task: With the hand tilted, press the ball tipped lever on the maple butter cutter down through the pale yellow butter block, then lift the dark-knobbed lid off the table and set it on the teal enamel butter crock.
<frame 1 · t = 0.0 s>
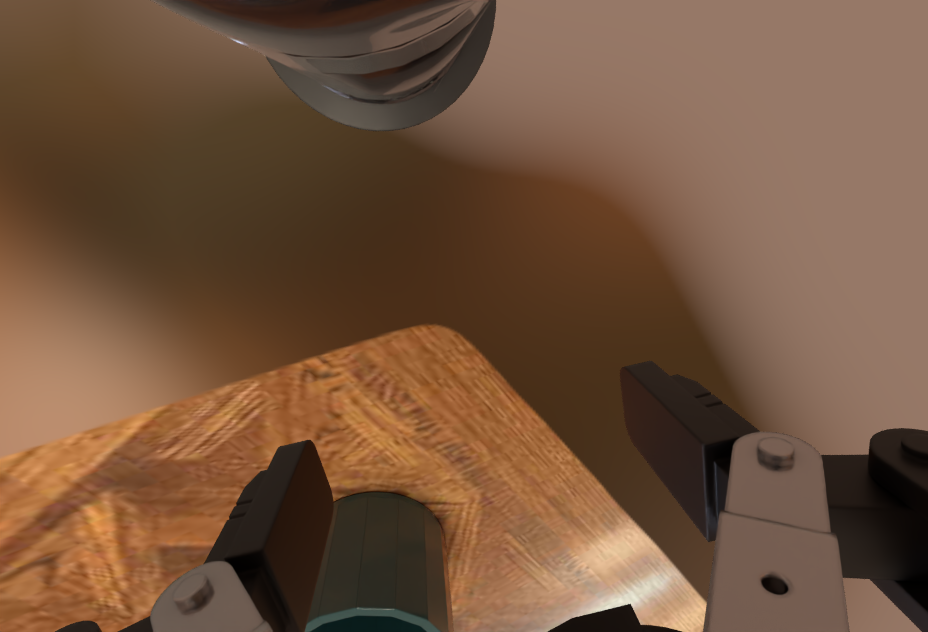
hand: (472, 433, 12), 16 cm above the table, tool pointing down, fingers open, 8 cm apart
crock: (374, 546, 34), on the table
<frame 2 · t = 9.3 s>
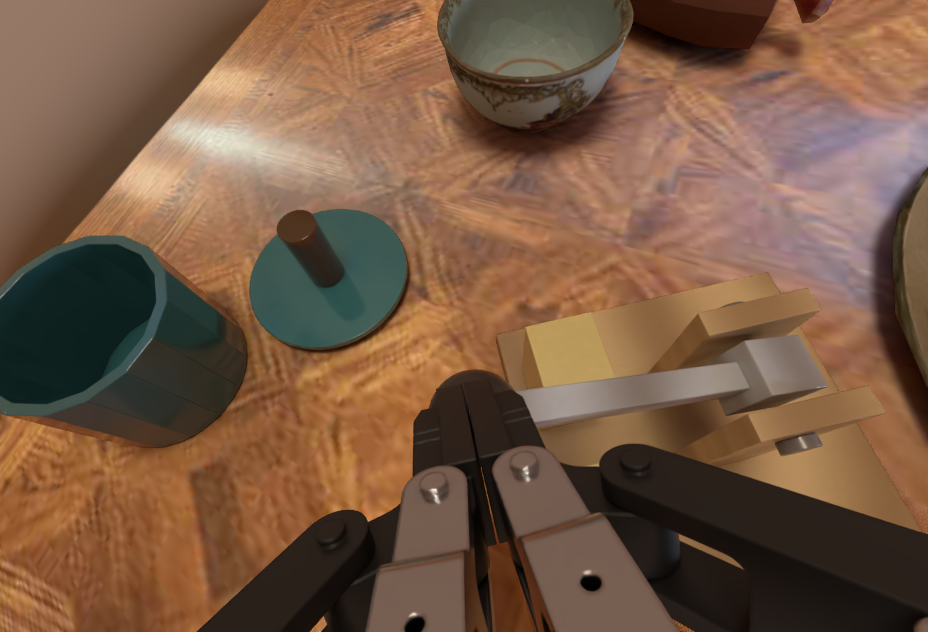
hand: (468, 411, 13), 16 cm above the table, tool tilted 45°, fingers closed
ball tipped lever: (633, 394, 17), point 12 cm above the table, hinge at 18.8°, touching gripper
butter: (557, 391, 28), point 1 cm above the table, touching cutter
crock: (173, 371, 32), on the table
meat: (683, 27, 43), on the table
cutter: (677, 429, 27), on the table
bowl: (528, 109, 40), on the table
crock lid: (329, 276, 33), point 1 cm above the table
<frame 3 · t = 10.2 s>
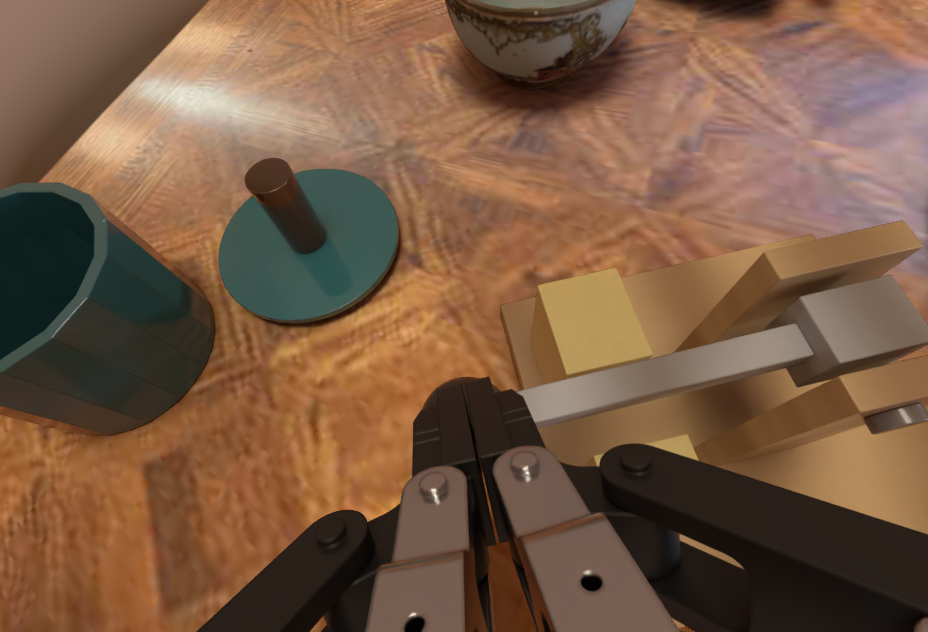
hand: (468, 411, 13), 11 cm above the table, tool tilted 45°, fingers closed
ball tipped lever: (651, 379, 15), point 10 cm above the table, hinge at -2.7°, touching gripper
butter: (572, 368, 24), point 1 cm above the table, touching cutter
crock: (129, 348, 28), on the table
butter pat: (615, 496, 21), point 1 cm above the table, touching cutter
cutter: (712, 412, 24), on the table
bowl: (534, 64, 36), on the table
crock lid: (310, 242, 29), point 1 cm above the table
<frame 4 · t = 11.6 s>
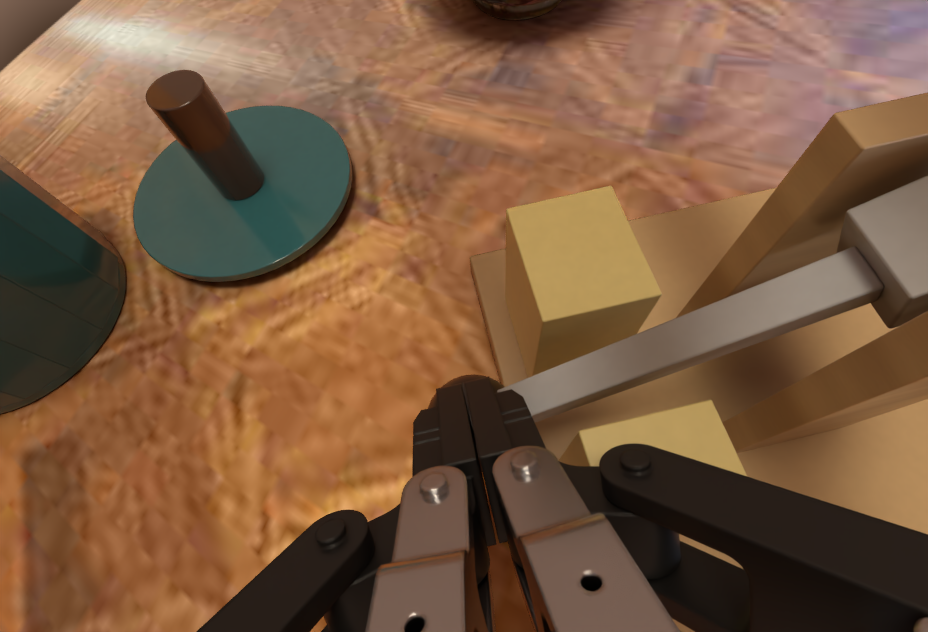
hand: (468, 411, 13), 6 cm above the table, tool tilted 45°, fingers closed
ball tipped lever: (659, 351, 12), point 7 cm above the table, hinge at -29.5°, touching gripper
butter: (557, 331, 19), point 1 cm above the table, touching cutter
crock: (21, 313, 23), on the table
butter pat: (611, 491, 16), point 1 cm above the table, touching cutter
cutter: (733, 386, 19), on the table
crock lid: (246, 189, 24), point 1 cm above the table
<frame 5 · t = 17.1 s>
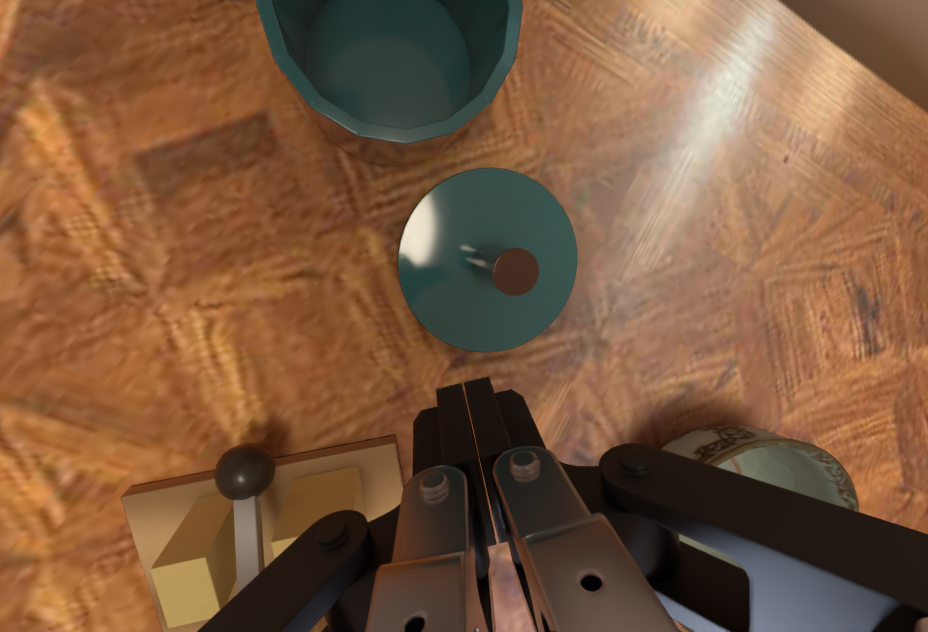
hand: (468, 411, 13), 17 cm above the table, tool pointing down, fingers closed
ball tipped lever: (252, 594, 24), point 7 cm above the table, hinge at -30.3°
butter: (330, 496, 29), point 1 cm above the table, touching cutter
crock: (390, 72, 26), on the table
butter pat: (225, 518, 28), point 1 cm above the table, touching cutter
cutter: (296, 581, 31), on the table
bowl: (676, 475, 35), on the table
crock lid: (488, 262, 29), point 1 cm above the table
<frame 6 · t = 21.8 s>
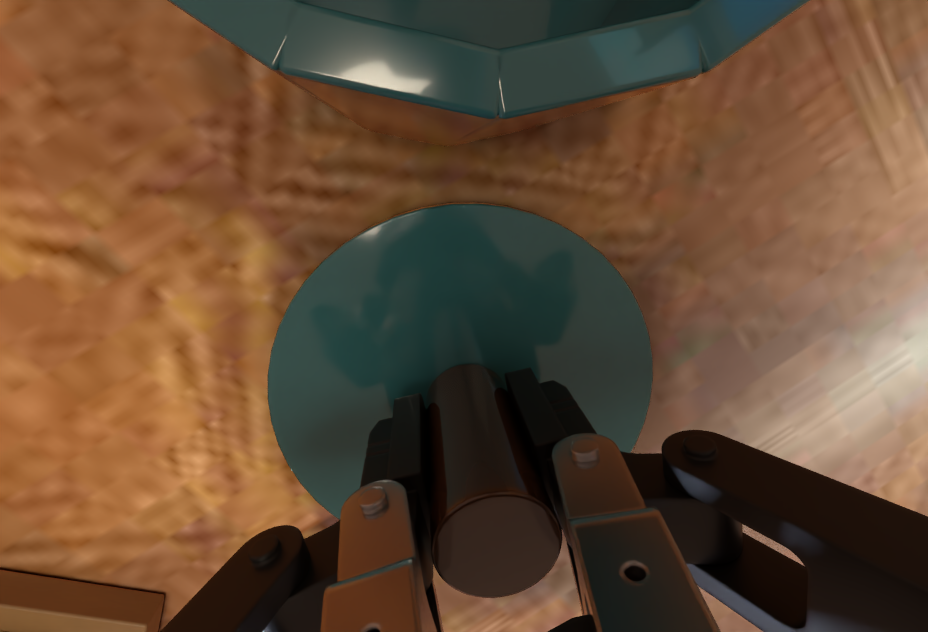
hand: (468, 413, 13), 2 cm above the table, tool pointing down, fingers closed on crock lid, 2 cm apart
crock lid: (465, 392, 14), point 1 cm above the table, touching gripper
when the fingers open (10 cm above the table, at t = 27.3 s): crock lid stays where it is, resting on crock.
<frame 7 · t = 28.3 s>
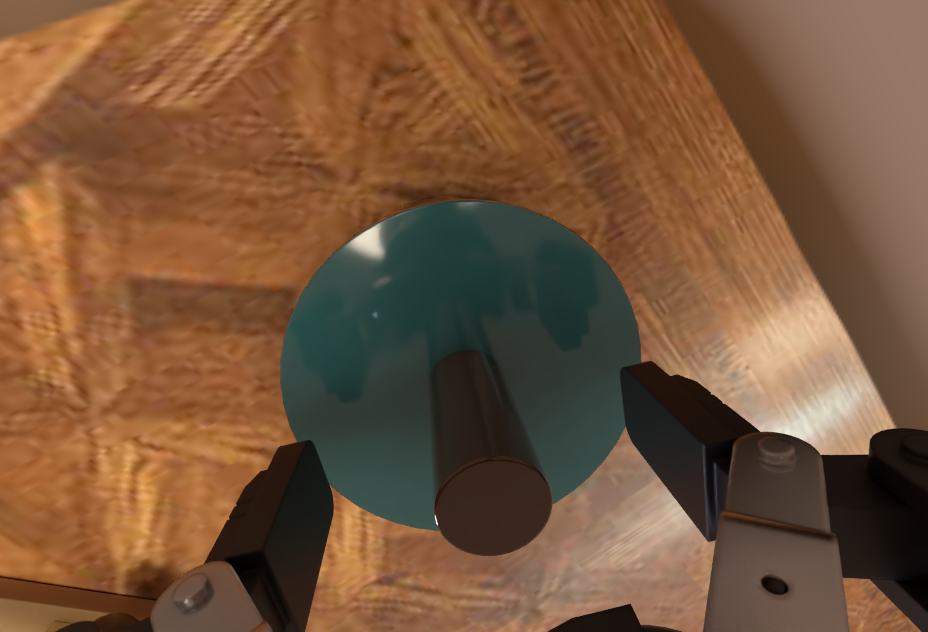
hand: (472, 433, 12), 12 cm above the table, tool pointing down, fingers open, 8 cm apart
crock: (447, 303, 23), on the table
crock lid: (465, 378, 15), point 8 cm above the table, touching crock
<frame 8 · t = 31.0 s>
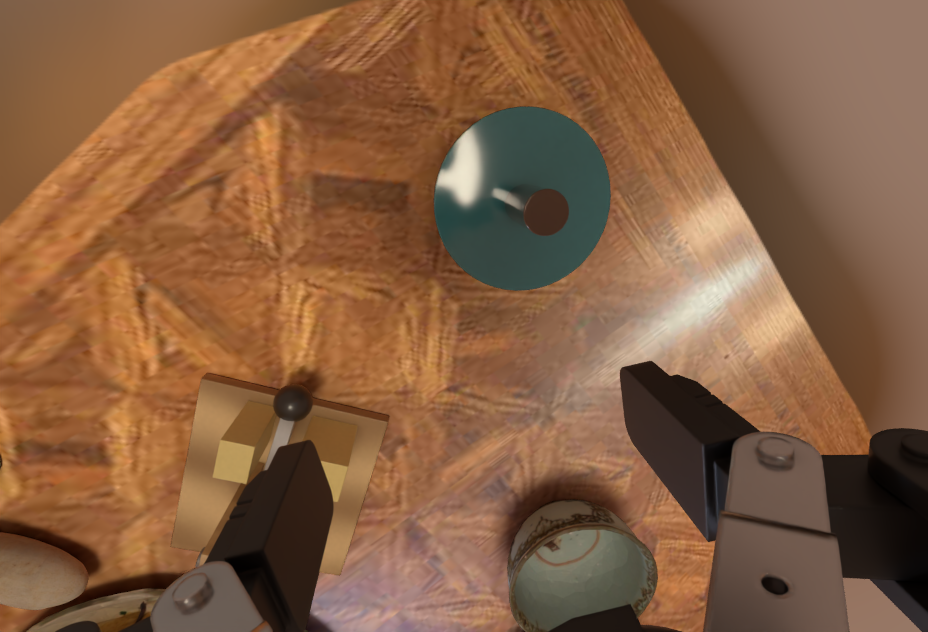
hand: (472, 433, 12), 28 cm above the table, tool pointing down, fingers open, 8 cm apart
ball tipped lever: (269, 479, 36), point 7 cm above the table, hinge at -30.3°
butter: (331, 436, 42), point 1 cm above the table, touching cutter
butter pat: (259, 420, 41), point 1 cm above the table, touching cutter
cutter: (280, 477, 44), on the table
stone: (32, 544, 44), on the table
bowl: (557, 522, 49), on the table
crock lid: (522, 203, 30), point 8 cm above the table, touching crock
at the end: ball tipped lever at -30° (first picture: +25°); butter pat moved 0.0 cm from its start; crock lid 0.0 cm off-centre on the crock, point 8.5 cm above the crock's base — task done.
